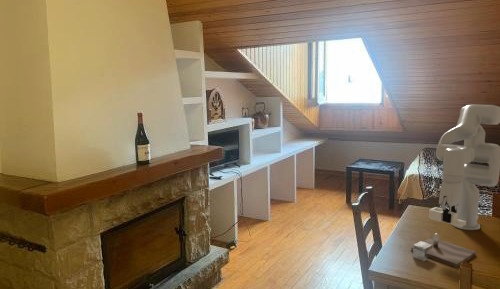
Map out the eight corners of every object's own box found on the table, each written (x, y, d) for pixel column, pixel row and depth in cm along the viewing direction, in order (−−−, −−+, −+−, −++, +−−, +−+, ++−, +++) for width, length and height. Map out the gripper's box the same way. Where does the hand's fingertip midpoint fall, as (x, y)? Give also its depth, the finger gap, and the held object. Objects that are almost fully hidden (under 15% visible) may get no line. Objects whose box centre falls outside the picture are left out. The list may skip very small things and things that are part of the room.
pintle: (434, 245, 167) (435, 232, 166) (439, 246, 165) (440, 233, 164) (432, 246, 166) (433, 233, 165) (436, 247, 164) (437, 234, 163)
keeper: (420, 252, 163) (421, 240, 162) (431, 257, 159) (432, 244, 158) (412, 257, 159) (413, 244, 158) (424, 261, 156) (425, 248, 155)
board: (431, 240, 175) (431, 237, 175) (475, 254, 160) (475, 251, 160) (411, 250, 165) (411, 247, 165) (456, 267, 150) (456, 264, 150)
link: (428, 218, 164) (429, 209, 163) (434, 215, 167) (435, 206, 166) (460, 227, 154) (461, 218, 153) (466, 224, 157) (467, 215, 156)
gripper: (452, 173, 164) (449, 213, 167) (433, 179, 154) (430, 222, 157) (471, 176, 158) (467, 218, 162) (452, 183, 148) (448, 228, 152)
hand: (449, 220), depth 159 cm, fingers closed on link, 4 cm apart
